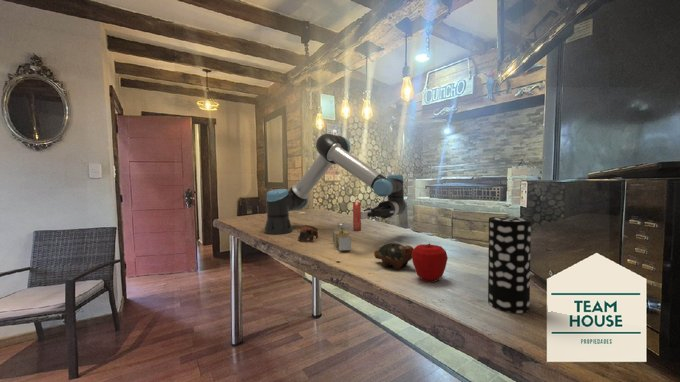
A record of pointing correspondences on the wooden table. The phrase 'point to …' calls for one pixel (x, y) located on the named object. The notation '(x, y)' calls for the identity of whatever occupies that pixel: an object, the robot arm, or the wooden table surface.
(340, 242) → the pipe valve
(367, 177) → the robot arm
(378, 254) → the decorative turtle
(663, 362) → the wooden table surface
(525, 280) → the spotted tube
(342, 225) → the lever
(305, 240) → the brown animal figurine
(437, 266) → the apple
